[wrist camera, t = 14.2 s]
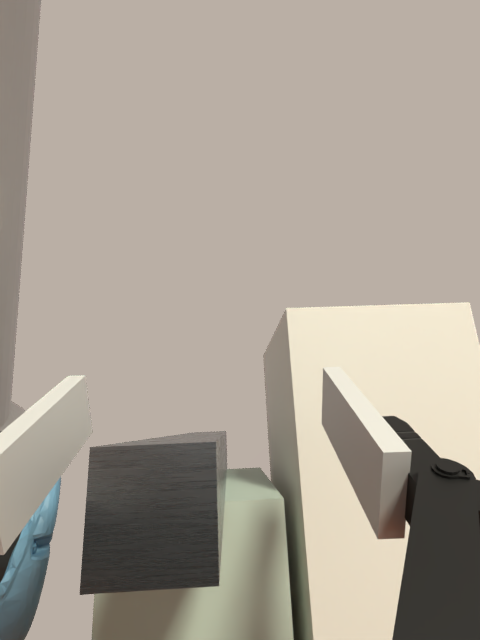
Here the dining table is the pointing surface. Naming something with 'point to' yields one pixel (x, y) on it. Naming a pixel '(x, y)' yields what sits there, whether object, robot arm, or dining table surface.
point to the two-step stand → (321, 484)
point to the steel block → (155, 514)
